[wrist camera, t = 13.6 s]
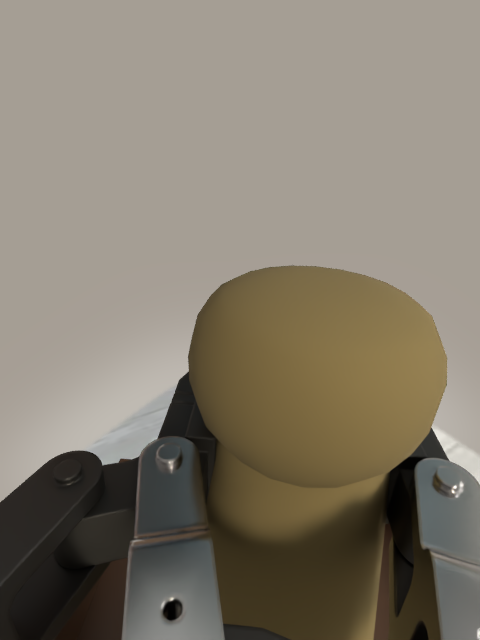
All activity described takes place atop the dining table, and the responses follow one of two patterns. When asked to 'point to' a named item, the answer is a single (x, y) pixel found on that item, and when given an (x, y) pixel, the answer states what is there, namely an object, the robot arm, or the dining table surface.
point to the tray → (109, 597)
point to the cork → (309, 439)
